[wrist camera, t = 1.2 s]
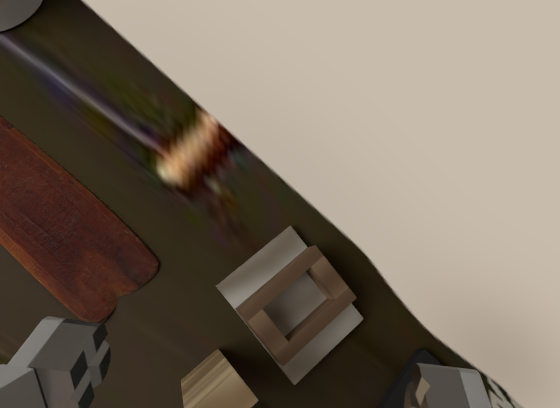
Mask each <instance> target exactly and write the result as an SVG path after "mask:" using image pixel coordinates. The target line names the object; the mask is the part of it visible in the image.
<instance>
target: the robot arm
mask: <svg viewBox="0 0 560 408" xmlns="http://www.w3.org/2000/svg"><path fill="white" fill-rule="evenodd" d="M42 1H43V0H0V31H4V30H7V29H10V28H12V27H14V26H17V25H18V24H20V23H22V22H23V21H25V20H26V19H28V18H29V17H30V16H31V15H32V14H33V13H34V12H35V11H36V10H37V9H38V7H39V6H40V5H41V3H42ZM106 336H107V330H106V326H105V325H103V324H99V323H92V322H86V321H79V320H72V319H65V318H58V317H51V316H48V317H46V318H44V319H43V320H42V321H41V322H40V323H39V325H38V326H37V327H36V328H35V330H34V331H33V332H32V334H31V335H30V336H29V337H28V339H27V340H26V341H25V343H24V344H23V345H22V346H21V348H20V349H19V350H18V351H17V353H16V354H15V355H14V357H13V358H12V359H11V360H10V362H9V363H8V364H7V365H4V364H1V365H0V408H89V406H90V404H91V402H92V400H93V399H94V393H93V388H94V387H96V386H97V385H98V384H100V383H101V382H102V381H103V379H104V377H105V375H106V373H107V371H108V367H109V363H110V355H111V352H110V346H109V345H108V344H107V343H106V342H105V341H104V339H105V337H106ZM411 373H412V378H413V381H412V382H410V383H409V384H408V385H407V388H406V392H405V400H404V408H492V407H491V404H490V401H489V399H488V396H487V393H486V390H485V387H484V385H483V382H482V379H481V376H480V374H479V372H478V371H477V370H472V369H464V368H455V367H449V366H440V365H431V364H422V363H416V364H415V365H414V366H413V369H412V372H411Z"/></svg>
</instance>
